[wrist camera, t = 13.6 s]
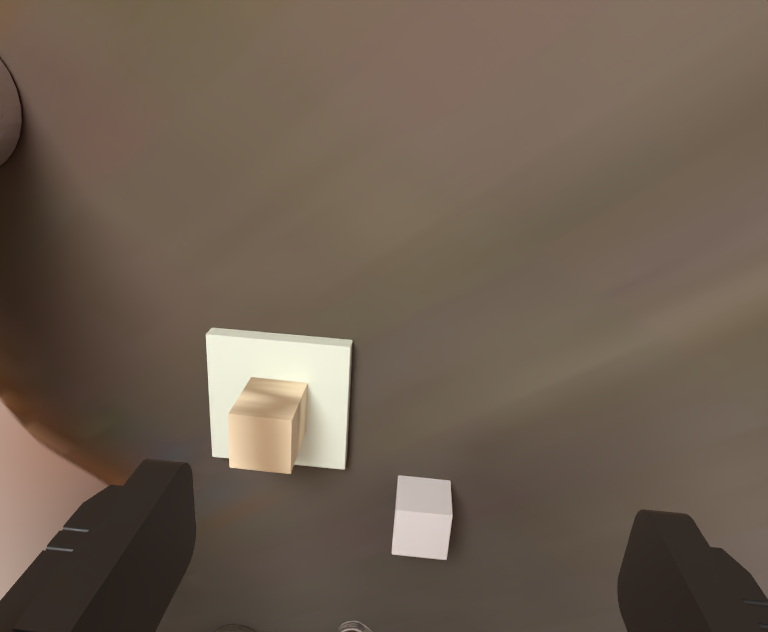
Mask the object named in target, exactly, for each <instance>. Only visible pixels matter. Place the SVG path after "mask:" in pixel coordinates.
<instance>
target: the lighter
mask: <svg viewBox="0 0 768 632" xmlns="http://www.w3.org/2000/svg"><path fill="white" fill-rule="evenodd" d="M338 632H373V631H371V630H370V629H369V628H367V627H366V626H365V625H364V624H362V623H360V622H357V621H348V622H345V623H343V624H342V625H341V626H340V627H339V629H338Z"/></svg>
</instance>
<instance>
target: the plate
mask: <svg viewBox="0 0 768 632" xmlns="http://www.w3.org/2000/svg"><path fill="white" fill-rule="evenodd" d="M352 342H353V340H347V339H335V338H324V337H312V336H301V335H290V334H278V333H267V332H256V331H244V330H233V329H221V328H211V329H210V330H209V331H208V333H207V334H206V346H207V365H208V384H209V402H210V421H211V440H212V457H222V458H229V426H228V413H229V412H230V410H231V409H232V407H233V405H234V404H235V402H236V401H237V399H238V397H239V396H240V394H241V393H242V391H243V389H244V388H245V386H246V385H247V383H248V381H249V380H250V378H251V377H256V378H266V379H276V380H286V381H295V382H305V383H307V415H306V433H305V436H304V438H303V441H302V444H301V447H300V449H299V452H298V455H297V458H296V461H295V463H294V465H304V466H314V467H324V468H334V469H345V466H346V461H347V445H348V425H349V404H350V384H351V363H352Z"/></svg>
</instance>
